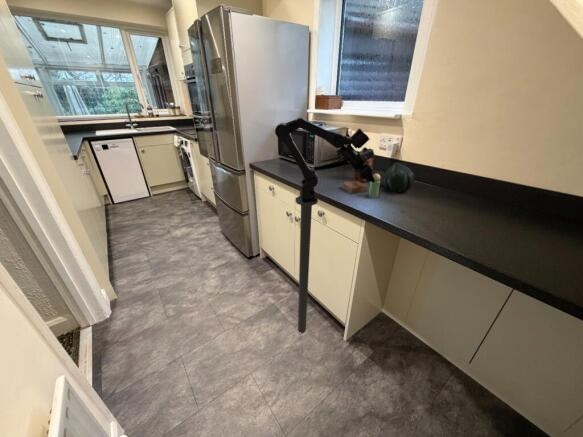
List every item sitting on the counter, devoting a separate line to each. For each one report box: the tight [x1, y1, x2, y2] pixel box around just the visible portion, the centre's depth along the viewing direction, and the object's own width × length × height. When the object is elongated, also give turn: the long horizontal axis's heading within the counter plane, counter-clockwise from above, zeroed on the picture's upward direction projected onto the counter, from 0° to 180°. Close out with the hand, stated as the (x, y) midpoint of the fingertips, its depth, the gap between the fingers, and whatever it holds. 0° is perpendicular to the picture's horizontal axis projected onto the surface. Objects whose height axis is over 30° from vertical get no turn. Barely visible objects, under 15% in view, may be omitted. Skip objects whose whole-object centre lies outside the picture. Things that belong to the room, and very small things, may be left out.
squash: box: [382, 162, 415, 193], centre depth 122 cm, size 14×15×15 cm
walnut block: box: [341, 180, 368, 195], centre depth 123 cm, size 9×9×3 cm
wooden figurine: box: [353, 149, 375, 183], centre depth 134 cm, size 12×6×18 cm, turn 128°
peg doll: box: [367, 173, 381, 199], centre depth 114 cm, size 4×4×12 cm
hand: (371, 178), depth 112 cm, fingers open, 9 cm apart
